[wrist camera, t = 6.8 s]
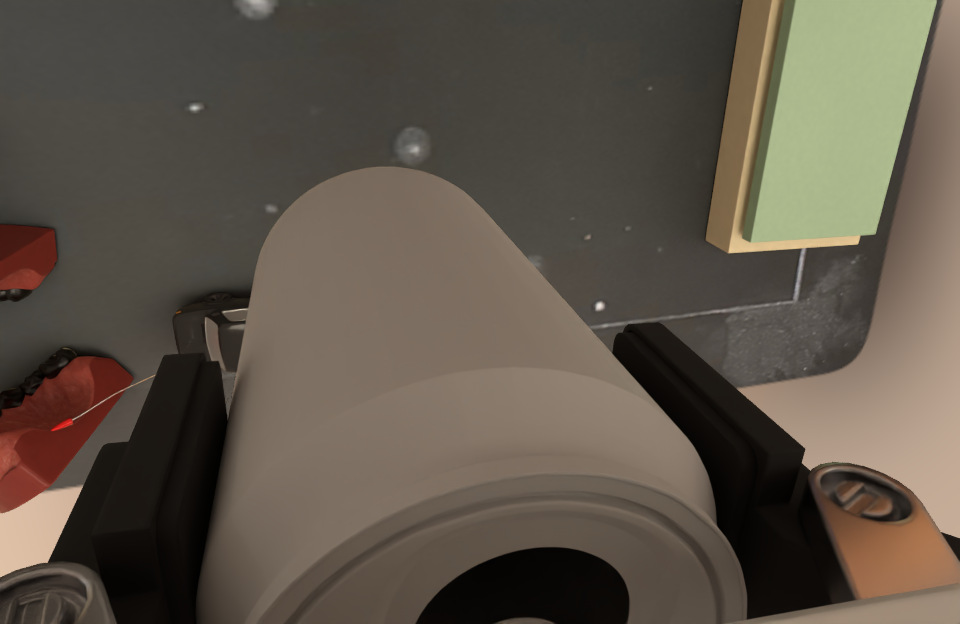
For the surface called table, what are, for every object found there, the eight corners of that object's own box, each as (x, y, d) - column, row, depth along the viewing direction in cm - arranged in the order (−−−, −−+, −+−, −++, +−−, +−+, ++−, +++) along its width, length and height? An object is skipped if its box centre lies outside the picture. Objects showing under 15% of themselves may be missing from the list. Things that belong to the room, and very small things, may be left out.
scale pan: (786, -11, 31) (797, -11, 30) (925, -7, 33) (939, -7, 32) (741, 238, 36) (750, 243, 35) (864, 230, 37) (875, 234, 37)
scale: (747, -31, 33) (785, -35, 30) (889, -26, 35) (936, -30, 32) (704, 240, 39) (733, 256, 36) (829, 232, 40) (865, 247, 38)
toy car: (356, 343, 36) (368, 423, 29) (112, 369, 33) (61, 465, 26) (350, 276, 34) (362, 343, 27) (94, 298, 32) (34, 379, 25)
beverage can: (529, 189, 17) (885, 468, 7) (467, 400, 20) (661, 862, 9) (277, 131, 15) (222, 400, 5) (239, 374, 18) (141, 930, 7)
